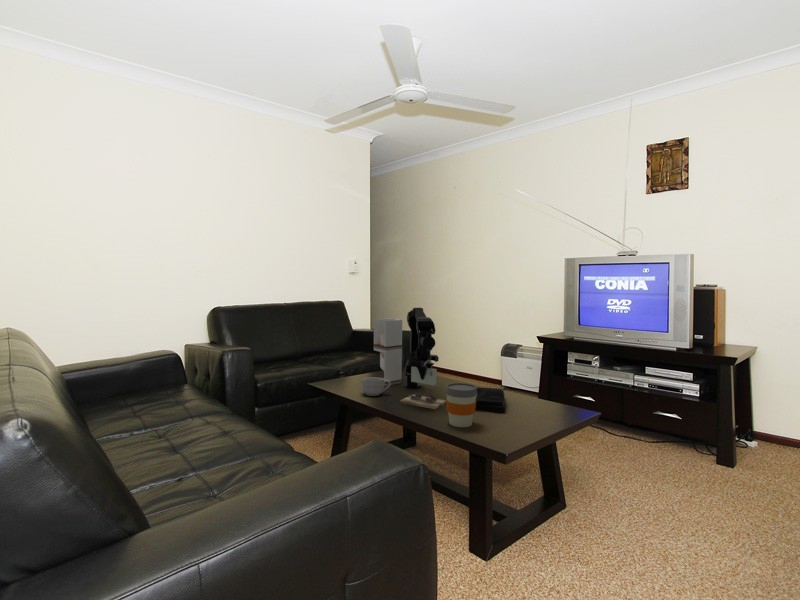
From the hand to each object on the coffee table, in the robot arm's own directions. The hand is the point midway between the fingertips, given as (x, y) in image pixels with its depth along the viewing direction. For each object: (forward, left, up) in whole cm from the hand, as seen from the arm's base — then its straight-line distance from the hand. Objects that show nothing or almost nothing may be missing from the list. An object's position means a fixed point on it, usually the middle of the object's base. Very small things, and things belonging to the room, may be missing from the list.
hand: (423, 379), depth 203 cm
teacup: (+1, -26, -11) cm, 28 cm away
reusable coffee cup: (+17, +26, -11) cm, 33 cm away
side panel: (0, 0, -11) cm, 11 cm away
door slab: (0, 0, -2) cm, 2 cm away
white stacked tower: (-23, -35, -11) cm, 43 cm away
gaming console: (-14, +24, -12) cm, 30 cm away
